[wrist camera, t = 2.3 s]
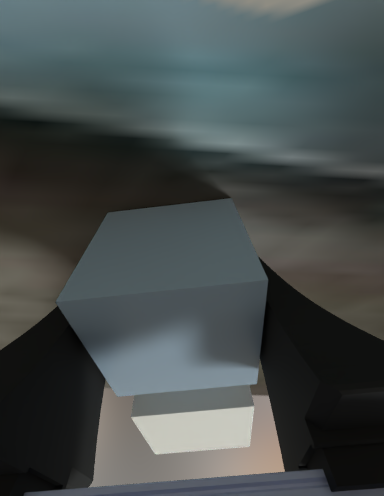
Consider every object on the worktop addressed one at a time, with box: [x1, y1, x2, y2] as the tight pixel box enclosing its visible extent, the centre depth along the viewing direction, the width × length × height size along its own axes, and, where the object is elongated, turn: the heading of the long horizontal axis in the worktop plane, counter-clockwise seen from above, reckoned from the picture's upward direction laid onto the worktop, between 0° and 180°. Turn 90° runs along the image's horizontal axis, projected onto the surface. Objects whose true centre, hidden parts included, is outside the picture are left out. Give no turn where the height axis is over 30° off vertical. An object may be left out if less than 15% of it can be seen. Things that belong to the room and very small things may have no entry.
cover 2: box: [131, 385, 254, 454], centre depth 15 cm, size 6×6×6 cm
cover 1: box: [56, 198, 268, 396], centre depth 10 cm, size 6×6×6 cm
